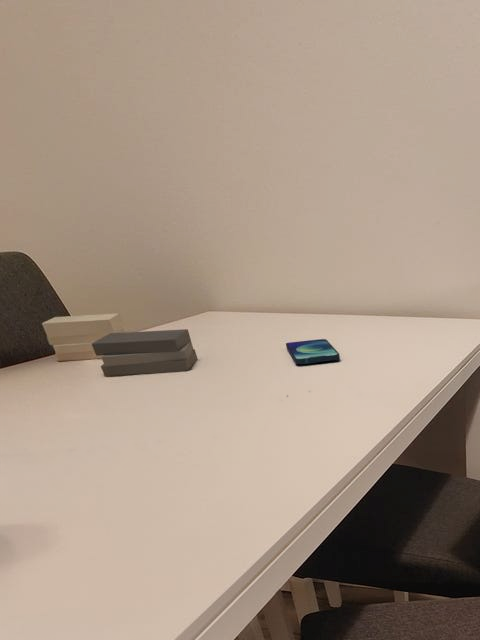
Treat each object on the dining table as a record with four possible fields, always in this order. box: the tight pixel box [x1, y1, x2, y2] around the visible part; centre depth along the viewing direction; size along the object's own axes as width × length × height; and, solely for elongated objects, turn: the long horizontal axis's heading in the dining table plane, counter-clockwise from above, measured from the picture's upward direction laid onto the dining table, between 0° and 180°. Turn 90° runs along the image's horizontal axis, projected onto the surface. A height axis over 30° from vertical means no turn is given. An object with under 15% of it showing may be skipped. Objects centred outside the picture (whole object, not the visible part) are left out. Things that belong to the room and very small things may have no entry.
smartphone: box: [285, 338, 341, 365], centre depth 103 cm, size 8×1×15 cm
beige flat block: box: [41, 313, 125, 338], centre depth 105 cm, size 11×6×2 cm, turn 101°
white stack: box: [46, 327, 126, 362], centre depth 106 cm, size 12×7×4 cm, turn 101°
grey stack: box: [92, 328, 198, 378], centre depth 98 cm, size 14×9×5 cm
